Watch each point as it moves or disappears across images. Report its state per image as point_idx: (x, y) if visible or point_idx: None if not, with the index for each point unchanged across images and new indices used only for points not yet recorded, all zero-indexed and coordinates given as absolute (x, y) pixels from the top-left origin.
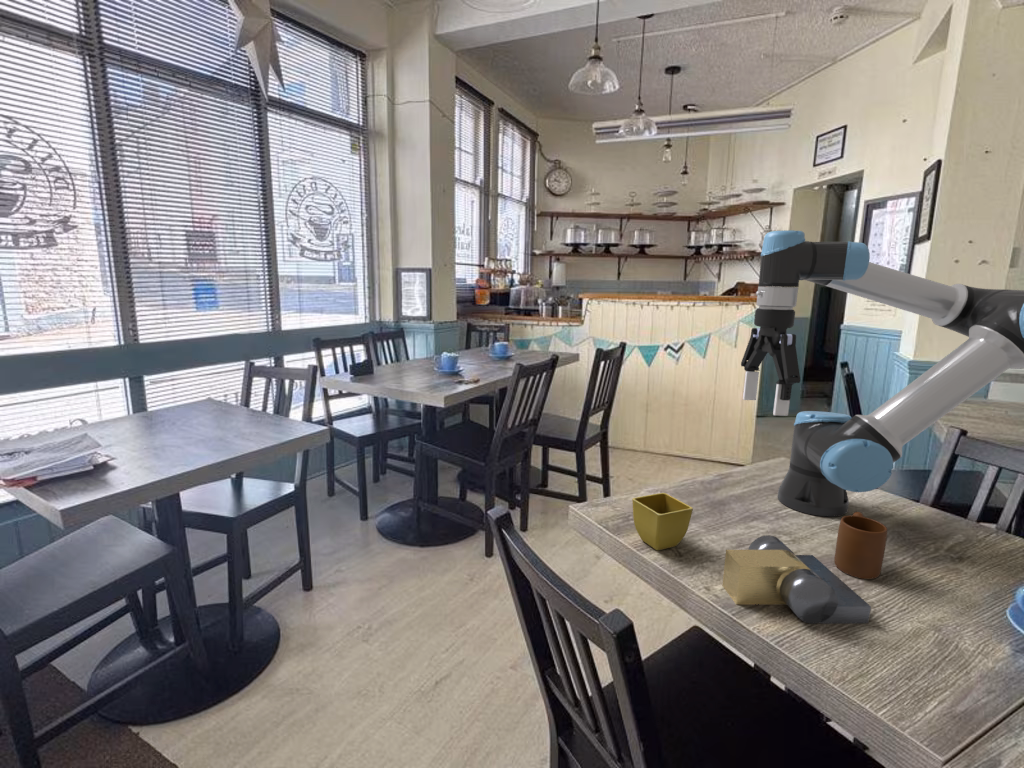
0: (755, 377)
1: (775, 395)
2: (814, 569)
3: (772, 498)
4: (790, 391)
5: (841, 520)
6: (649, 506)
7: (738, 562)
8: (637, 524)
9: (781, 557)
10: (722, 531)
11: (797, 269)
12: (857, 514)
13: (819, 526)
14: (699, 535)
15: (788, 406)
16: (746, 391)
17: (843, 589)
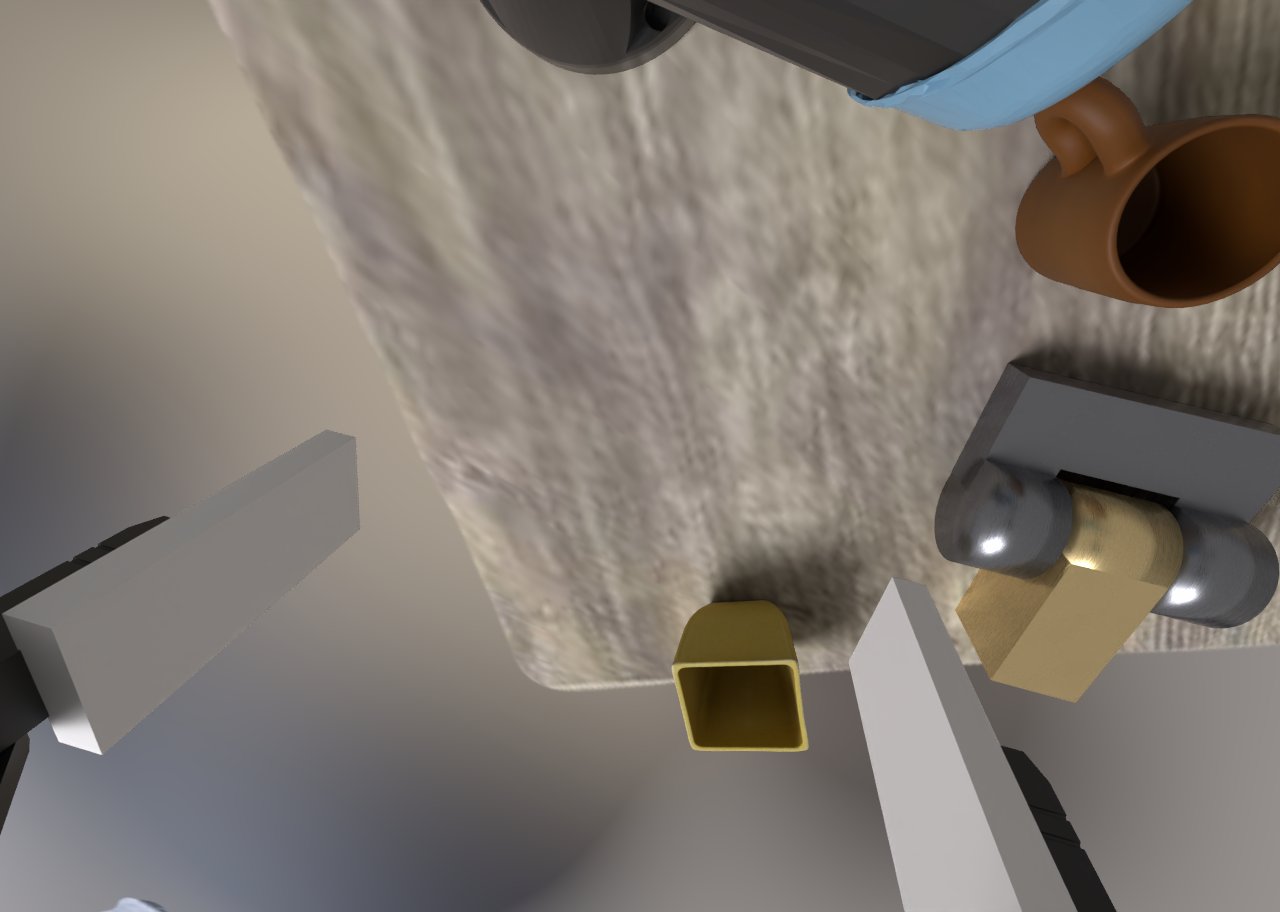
0: (150, 603)
1: (889, 828)
2: (1092, 437)
3: (525, 74)
4: (1092, 880)
5: (1126, 290)
6: (691, 683)
7: (1057, 695)
8: (718, 692)
9: (1103, 594)
10: (727, 447)
11: None
12: (1116, 135)
13: (793, 70)
14: (731, 517)
15: (953, 653)
16: (303, 564)
17: (1213, 445)
